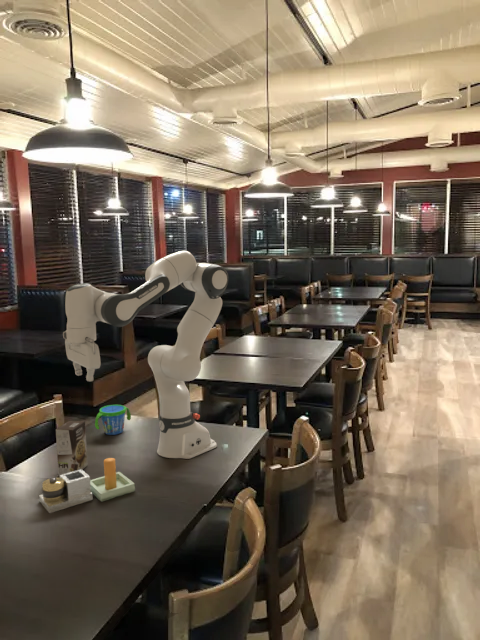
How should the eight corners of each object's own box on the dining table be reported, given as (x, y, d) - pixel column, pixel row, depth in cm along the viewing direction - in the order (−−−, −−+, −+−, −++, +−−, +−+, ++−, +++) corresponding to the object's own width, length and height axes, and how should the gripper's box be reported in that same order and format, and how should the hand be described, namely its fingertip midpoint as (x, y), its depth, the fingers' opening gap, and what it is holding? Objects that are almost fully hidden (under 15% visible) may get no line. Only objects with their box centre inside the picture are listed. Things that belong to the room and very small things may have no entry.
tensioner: (81, 488, 168) (80, 464, 167) (92, 499, 161) (91, 474, 160) (39, 501, 161) (37, 476, 159) (48, 513, 153) (46, 487, 152)
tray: (119, 478, 175) (119, 471, 175) (134, 491, 166) (134, 483, 166) (87, 488, 169) (87, 481, 168) (101, 501, 160) (101, 494, 159)
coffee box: (75, 476, 177) (72, 430, 175) (57, 475, 179) (54, 428, 176) (88, 465, 186) (85, 420, 184) (71, 463, 187) (68, 419, 185)
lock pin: (113, 483, 170) (112, 457, 168) (118, 487, 167) (117, 460, 166) (103, 487, 168) (101, 459, 166) (107, 491, 165) (106, 463, 164)
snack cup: (101, 440, 209) (100, 415, 207) (90, 433, 217) (88, 409, 215) (137, 431, 218) (136, 407, 217) (125, 424, 227) (124, 401, 225)
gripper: (104, 338, 162) (106, 382, 164) (79, 330, 178) (82, 370, 180) (84, 341, 158) (87, 386, 160) (61, 332, 175) (63, 373, 177)
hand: (84, 377), depth 171 cm, fingers open, 8 cm apart
